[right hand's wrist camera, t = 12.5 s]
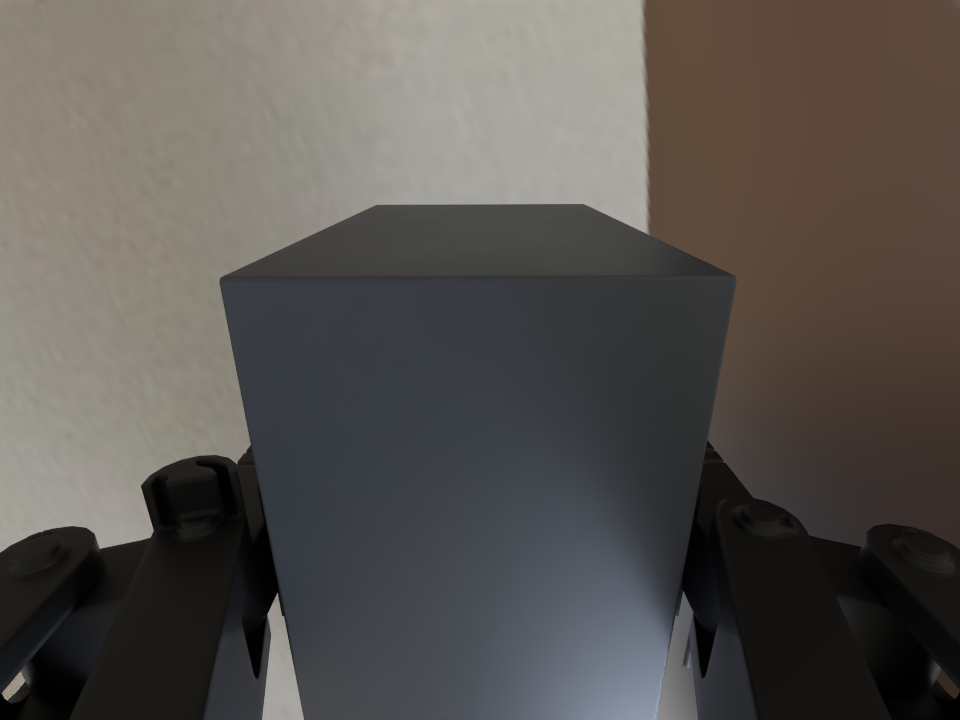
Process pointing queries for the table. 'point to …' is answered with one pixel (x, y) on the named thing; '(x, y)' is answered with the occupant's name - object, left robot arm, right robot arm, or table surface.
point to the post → (479, 455)
